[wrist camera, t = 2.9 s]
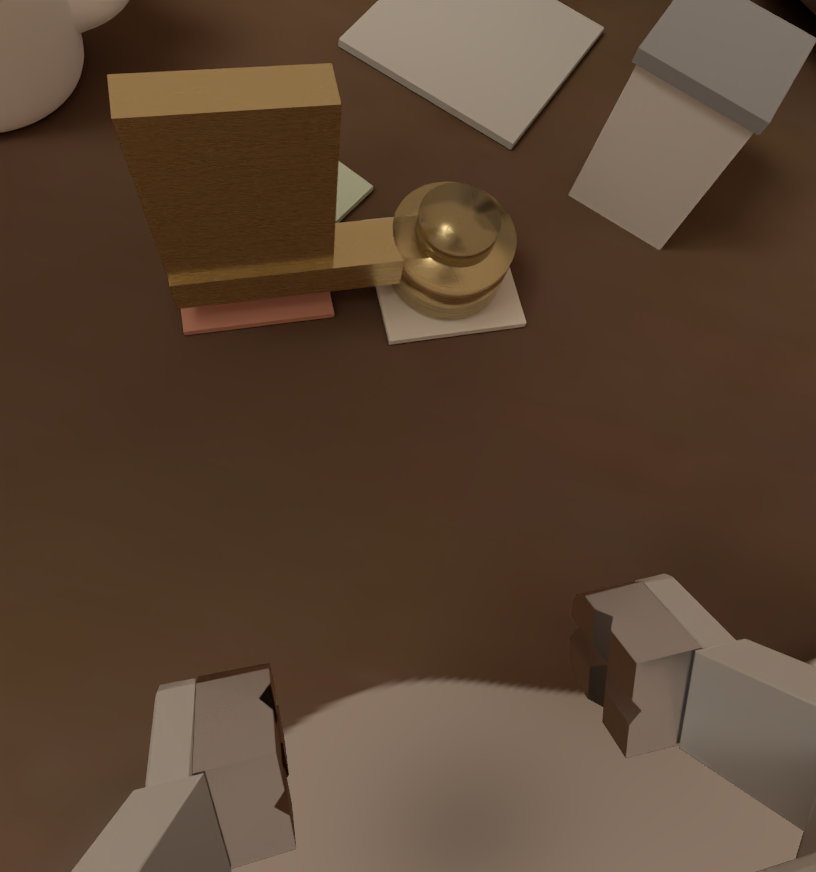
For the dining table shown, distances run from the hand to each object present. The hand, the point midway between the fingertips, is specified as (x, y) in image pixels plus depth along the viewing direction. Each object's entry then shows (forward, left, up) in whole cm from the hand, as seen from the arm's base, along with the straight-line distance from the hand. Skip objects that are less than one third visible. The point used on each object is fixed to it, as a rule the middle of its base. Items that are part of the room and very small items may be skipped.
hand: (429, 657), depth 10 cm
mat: (+28, +12, -14) cm, 34 cm away
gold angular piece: (+12, +9, -14) cm, 21 cm away
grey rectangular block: (+25, +1, -14) cm, 29 cm away
